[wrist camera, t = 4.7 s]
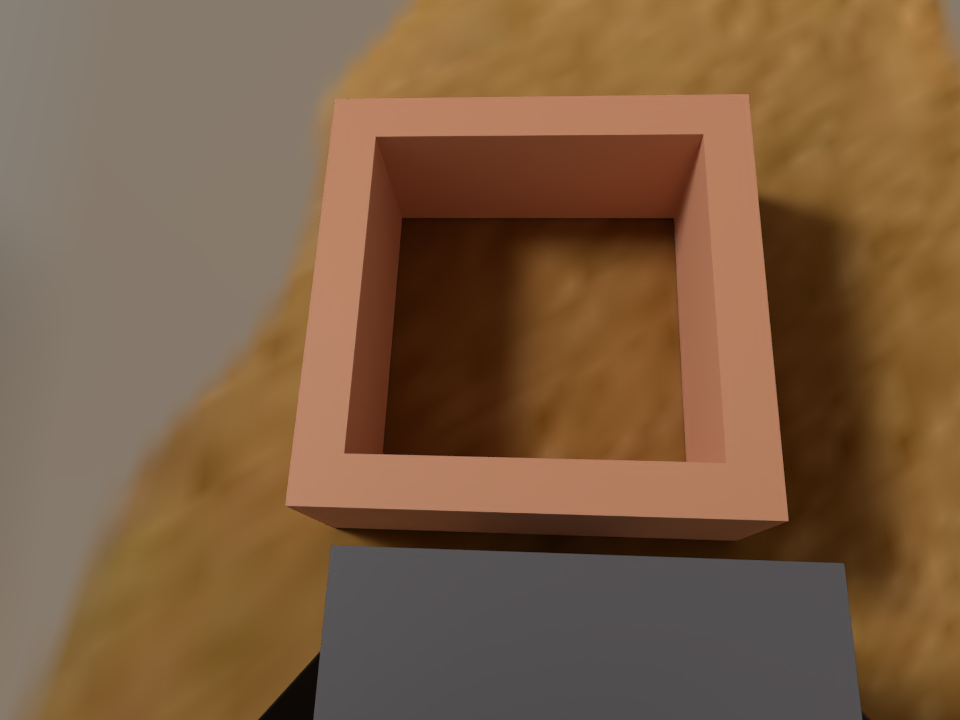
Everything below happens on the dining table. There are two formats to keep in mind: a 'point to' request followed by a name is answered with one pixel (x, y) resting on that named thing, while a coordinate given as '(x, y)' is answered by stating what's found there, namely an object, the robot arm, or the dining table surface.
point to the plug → (582, 637)
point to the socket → (543, 194)
